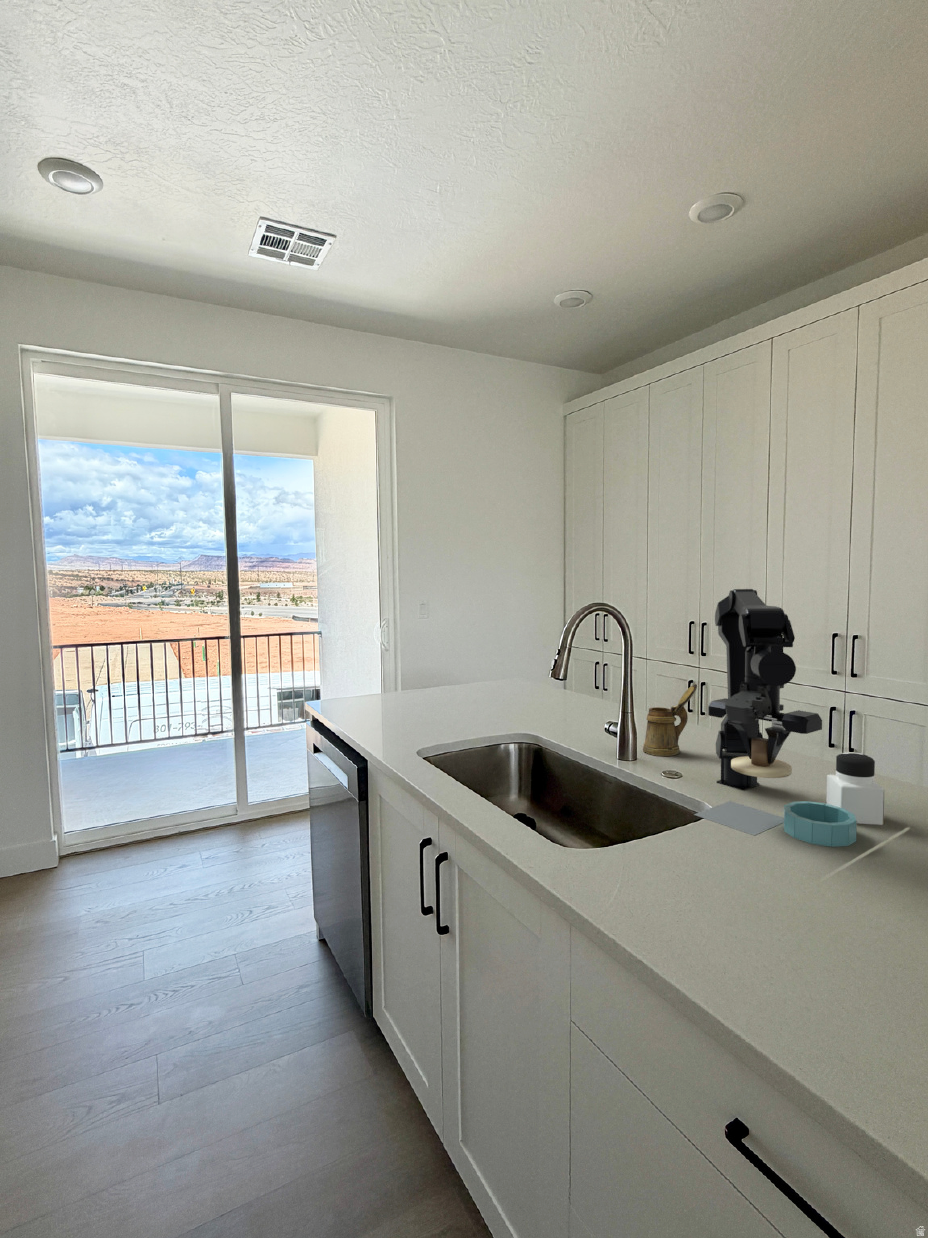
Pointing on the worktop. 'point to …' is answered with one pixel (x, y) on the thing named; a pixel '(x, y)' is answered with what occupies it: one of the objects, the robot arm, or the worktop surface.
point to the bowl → (820, 823)
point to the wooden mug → (666, 727)
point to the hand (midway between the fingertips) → (761, 761)
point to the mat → (741, 817)
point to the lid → (760, 762)
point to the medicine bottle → (856, 788)
